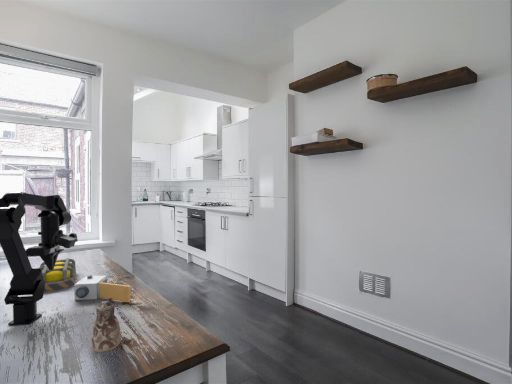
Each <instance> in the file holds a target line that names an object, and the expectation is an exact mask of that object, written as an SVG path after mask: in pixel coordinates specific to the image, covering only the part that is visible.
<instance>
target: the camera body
mask: <svg viewBox="0 0 512 384" xmlns="http://www.w3.org/2000/svg"><path fill="white" fill-rule="evenodd" d="M97 282H100V283H101V282H102V283H108V278H107V275H91V274H90V275H87V276H85V277H83V278H82V279H80V280H79V281H77V282H75V284H74V285H73V287H74V288H73V290H74V292H73V293H74V295H73V296H74V301H82V300H85V301H86V300H97Z"/></svg>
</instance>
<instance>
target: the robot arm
mask: <svg viewBox="0 0 512 384" xmlns="http://www.w3.org/2000/svg"><path fill="white" fill-rule="evenodd" d="M13 205H14V206H15V205H16V207H14V206H13ZM11 206H12V207H11ZM26 206H27V207H34V208H35V209H36V210H39V211H40V212H39V213H38V215H37V218H40V231H38V232H37V235H38V236H40V240H41V241H40V242H38V244H37V245H33V246H30V247H28V248H25V246H24V243H23V240H22V238H21V235H20V233H19V230H20V228H21V226H22V224H23V221H22V219H23V217H24V215H26V212H27V211H26V208H25V207H26ZM71 222H72V215H71V213H70V212H68V209H67V207H66V204H65V202H64V200H63V198H62V197H61V195H59V194H39V195H38V194H34V193H33V194H32V193H27V192H24V191H10V192H6V193H4V195H3V196H2V197H1V198H0V247H1V250H2V252H3V254H4V256H5V259H6V262H7V263H8V264H7V265H8V266H9V268H10V272H11V274H12V276H11V280H10V282H9V286H10V287H9V289H8V292H7V293H6V295H5V297H4V300H3V301H4V304H5V305H12V314H13V315H12V317H13V319H12V320H10V321H9V322H8V323H7V325H8V326H14V325H15V326H16V325H30V324H31V323H33V322H34V321H36V320H37V319H39V318H40V317H41V316H42V315H43V314H42V313H38V307H37V304H38V303H37V302H39V301H40V300H42V299H43V298H44V294H45V292H44V288H45V281H44V279H43V278H44V276H43V275H42V271H41V269H40V268H39V267H38V268H33V267H32V265H31V262H30V259H29V257H39V258H40V259H41V260H42V261H43V262H44V263H45V264H46V266H47V267H48V269H49V270H53V269H54V266H55V263H56V260H58V257H59V255H60V254H61V253H62V252H63V251H65V249H71V248H72V247H75V244H76V242H78V235H77V233H75V232H72V233H69V234H65V233H64V231H63V230H62V229H60V227H61V226H65V225H68V224H69V223H71ZM61 247H63V248H61ZM64 248H65V249H64Z"/></svg>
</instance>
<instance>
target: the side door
mask: <svg viewBox="0 0 512 384" xmlns="http://www.w3.org/2000/svg"><path fill="white" fill-rule="evenodd" d="M108 298H112V301H117V302H124V303H130V302H131V286H130V285H125V284H117V283H111V282H110V283H109V282H107V283H102V282H101V283H100V282H97V299H98V300H99V299H105V300H108ZM97 299H96V300H97Z"/></svg>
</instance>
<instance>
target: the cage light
mask: <svg viewBox="0 0 512 384" xmlns="http://www.w3.org/2000/svg"><path fill="white" fill-rule="evenodd" d="M38 268H40V269H41V271H42V275H43V276H44V278H43V279H44V281H45V288H44V293H47V292H48V293H49V292H56V291H60V290H65V289H68V288H70V287H72V286H74V283H75V284H76V278H75V277H77V276H76V275H77V272H76V270H77V269H76V268H77V267H76V261H75V259H74V258H69V257H67V258H65V259H57V260H56V263H55V266H54V269H53V270H49V269H48V267H47V266H46V264H45V263H44V261H43V262H41V263H40V265H39V267H38Z"/></svg>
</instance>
